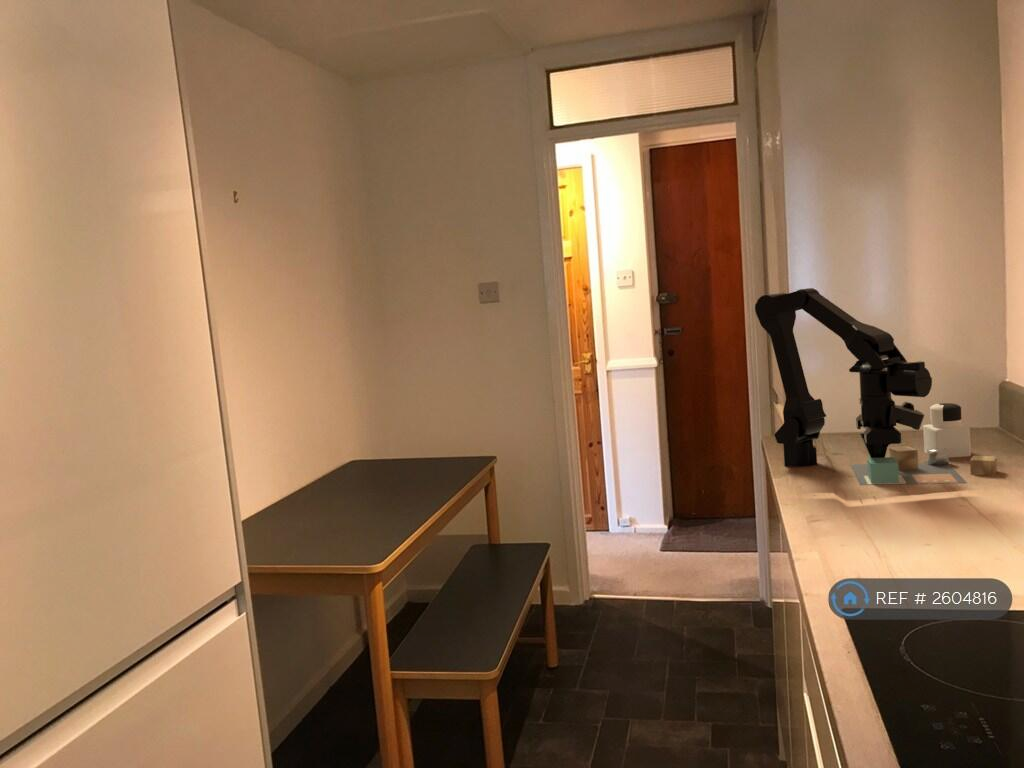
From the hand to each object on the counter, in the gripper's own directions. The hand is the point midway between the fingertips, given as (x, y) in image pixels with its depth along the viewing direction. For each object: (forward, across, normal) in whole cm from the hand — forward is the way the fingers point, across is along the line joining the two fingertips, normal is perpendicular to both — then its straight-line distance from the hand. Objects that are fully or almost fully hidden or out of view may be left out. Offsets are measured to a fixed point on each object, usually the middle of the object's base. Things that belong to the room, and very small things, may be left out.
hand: (879, 469), depth 170 cm
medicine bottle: (+3, +18, -16) cm, 24 cm away
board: (+2, +1, -5) cm, 6 cm away
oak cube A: (+1, +6, -6) cm, 8 cm away
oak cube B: (0, +1, -17) cm, 17 cm away
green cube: (+1, -4, 0) cm, 4 cm away
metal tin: (+1, +9, -12) cm, 15 cm away
